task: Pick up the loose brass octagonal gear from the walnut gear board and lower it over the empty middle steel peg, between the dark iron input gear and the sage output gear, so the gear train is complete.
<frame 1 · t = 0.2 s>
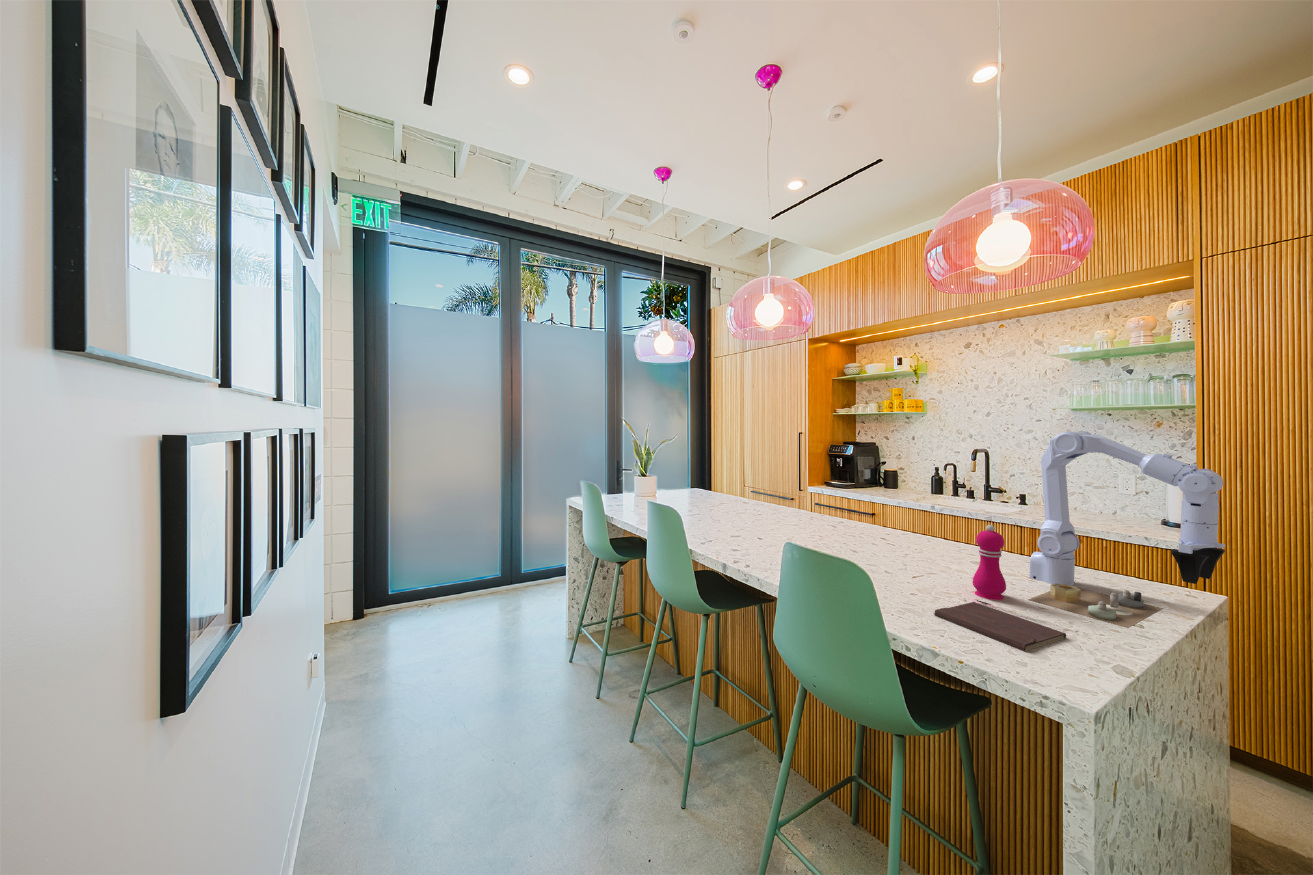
hand: (1196, 580, 111), 10 cm above the countertop, tool pointing down, fingers open, 7 cm apart
gear board: (1093, 609, 119), on the countertop
notebook: (996, 629, 110), on the countertop
pepper mill: (988, 601, 125), on the countertop
brass idler gear: (1065, 598, 123), point 1 cm above the countertop, touching gear board
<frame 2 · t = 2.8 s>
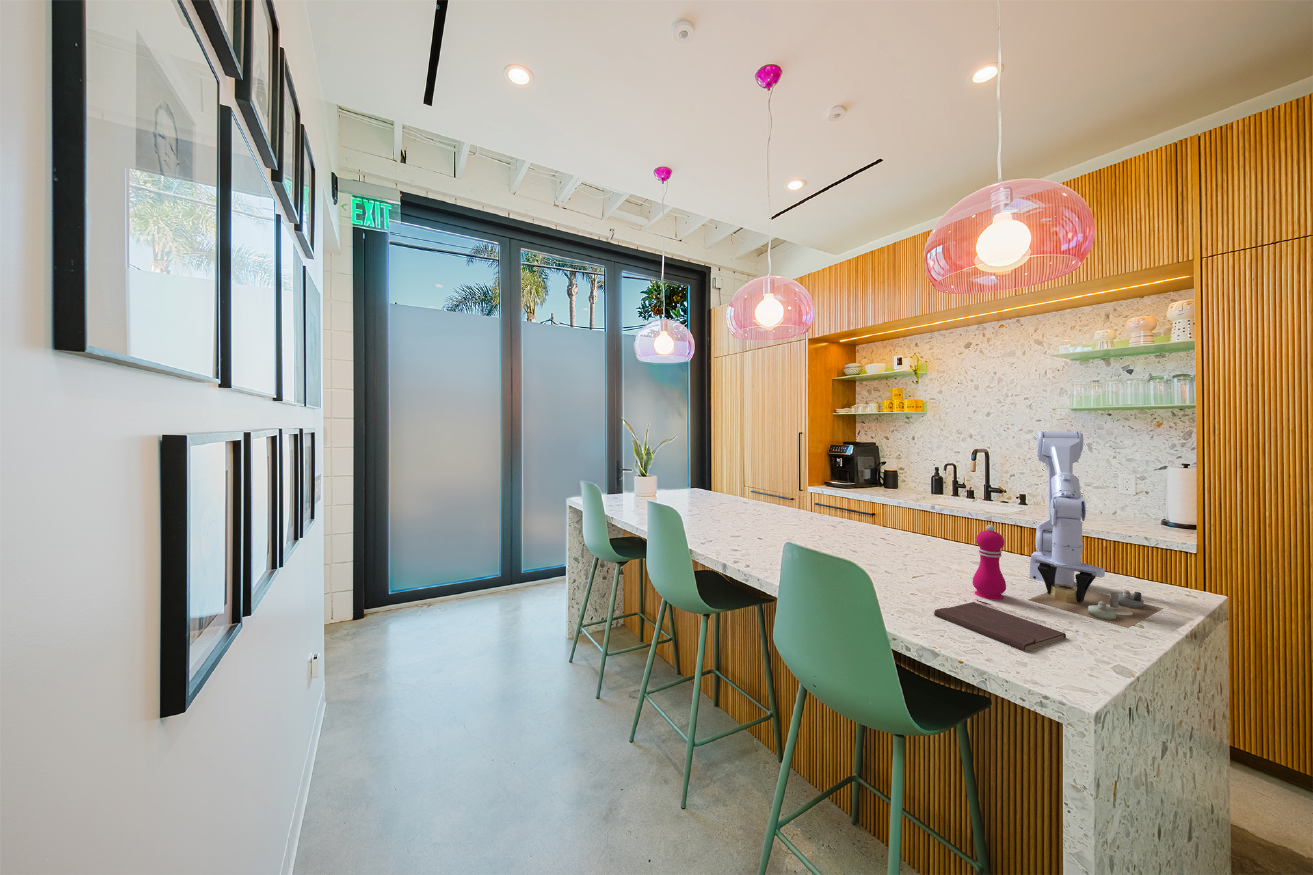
hand: (1065, 597, 123), 2 cm above the countertop, tool pointing down, fingers closed on brass idler gear, 5 cm apart
brass idler gear: (1065, 598, 123), point 2 cm above the countertop, touching gear board, gripper
everything else where it was.
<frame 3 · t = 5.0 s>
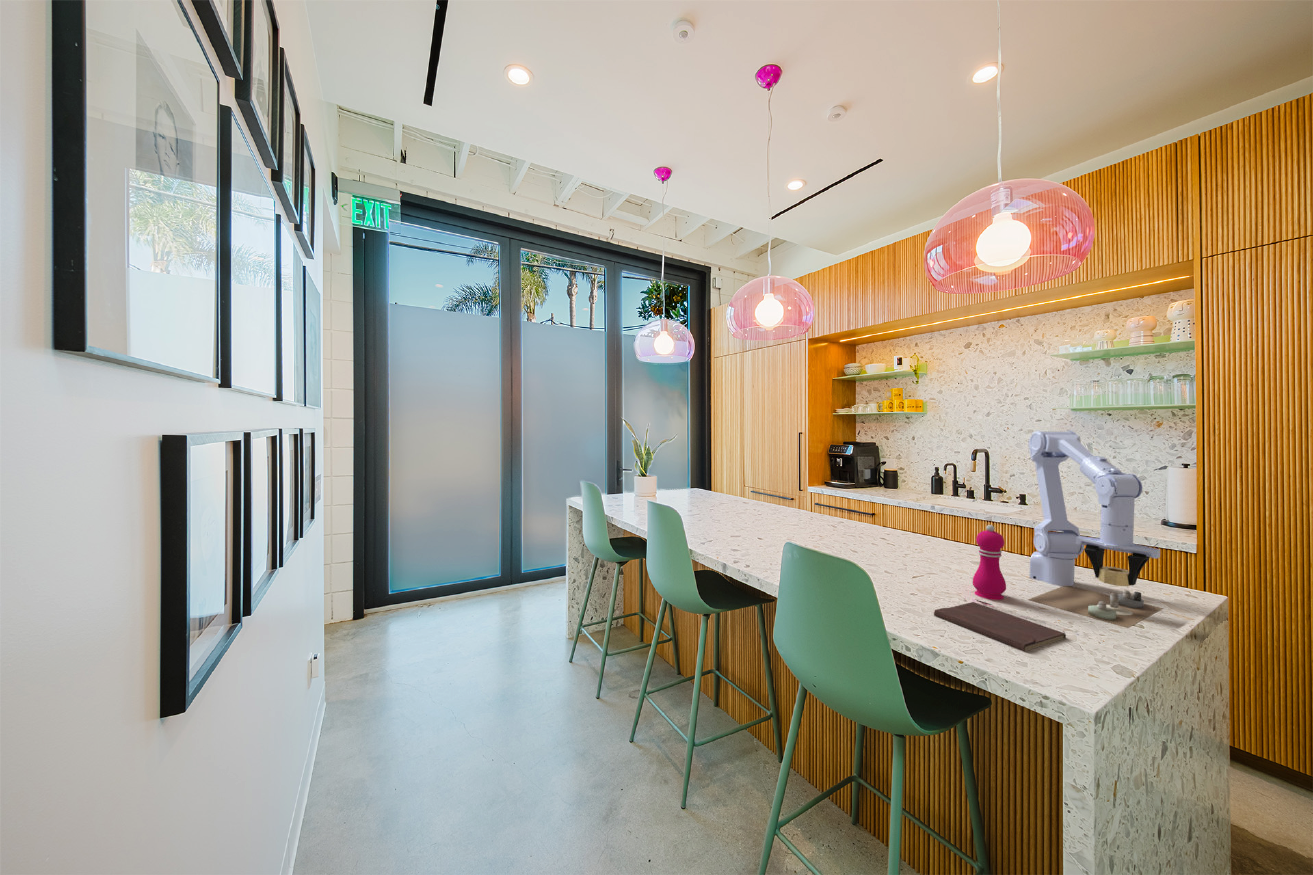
hand: (1115, 580, 115), 9 cm above the countertop, tool pointing down, fingers closed on brass idler gear, 5 cm apart
brass idler gear: (1114, 582, 115), point 8 cm above the countertop, touching gripper
everything else where it was.
when the fingers open (3 cm above the countertop, at t = 7.2 s): brass idler gear stays where it is, resting on gear board.
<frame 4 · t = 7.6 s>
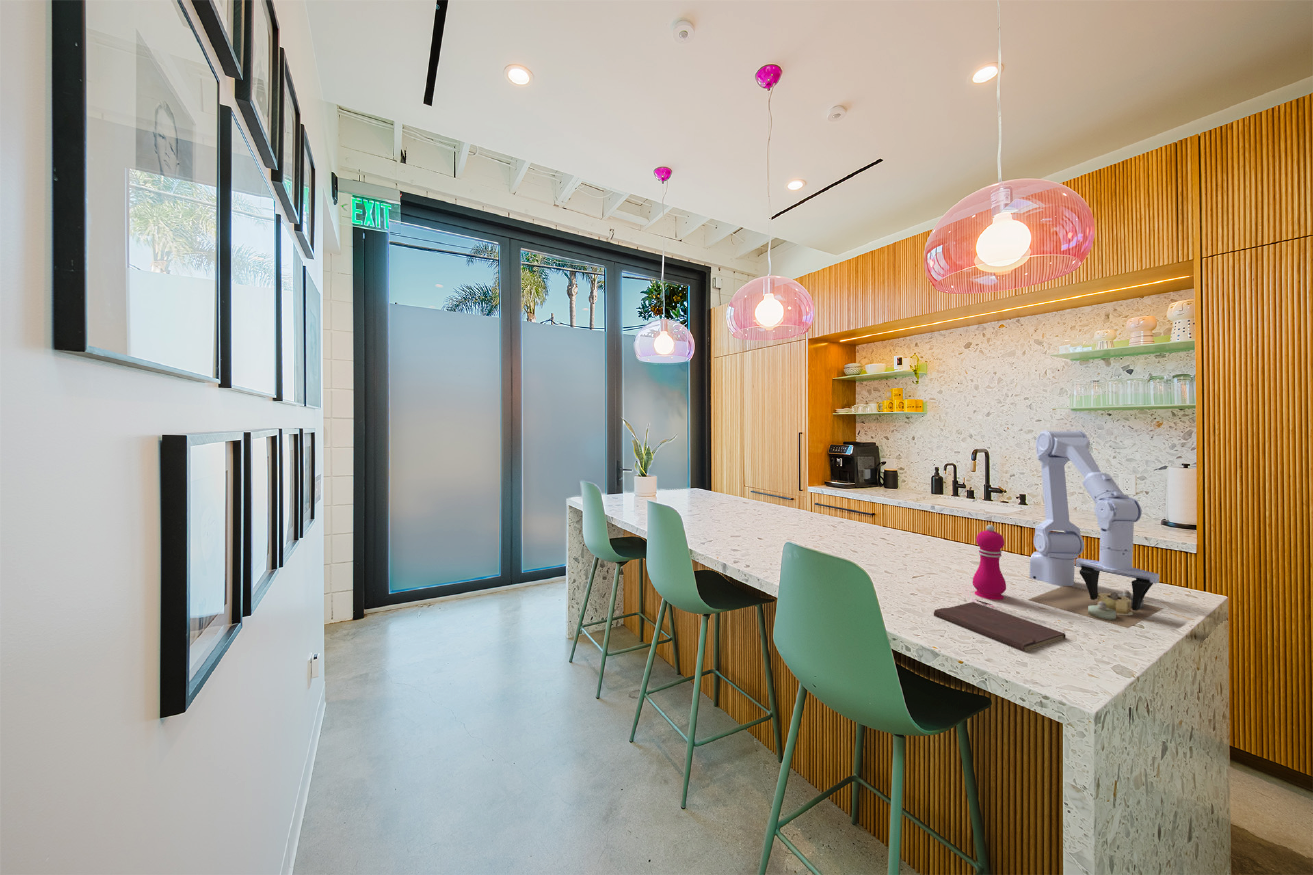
hand: (1114, 603, 115), 3 cm above the countertop, tool pointing down, fingers open, 7 cm apart
brass idler gear: (1113, 609, 115), point 2 cm above the countertop, touching gear board
everything else where it was.
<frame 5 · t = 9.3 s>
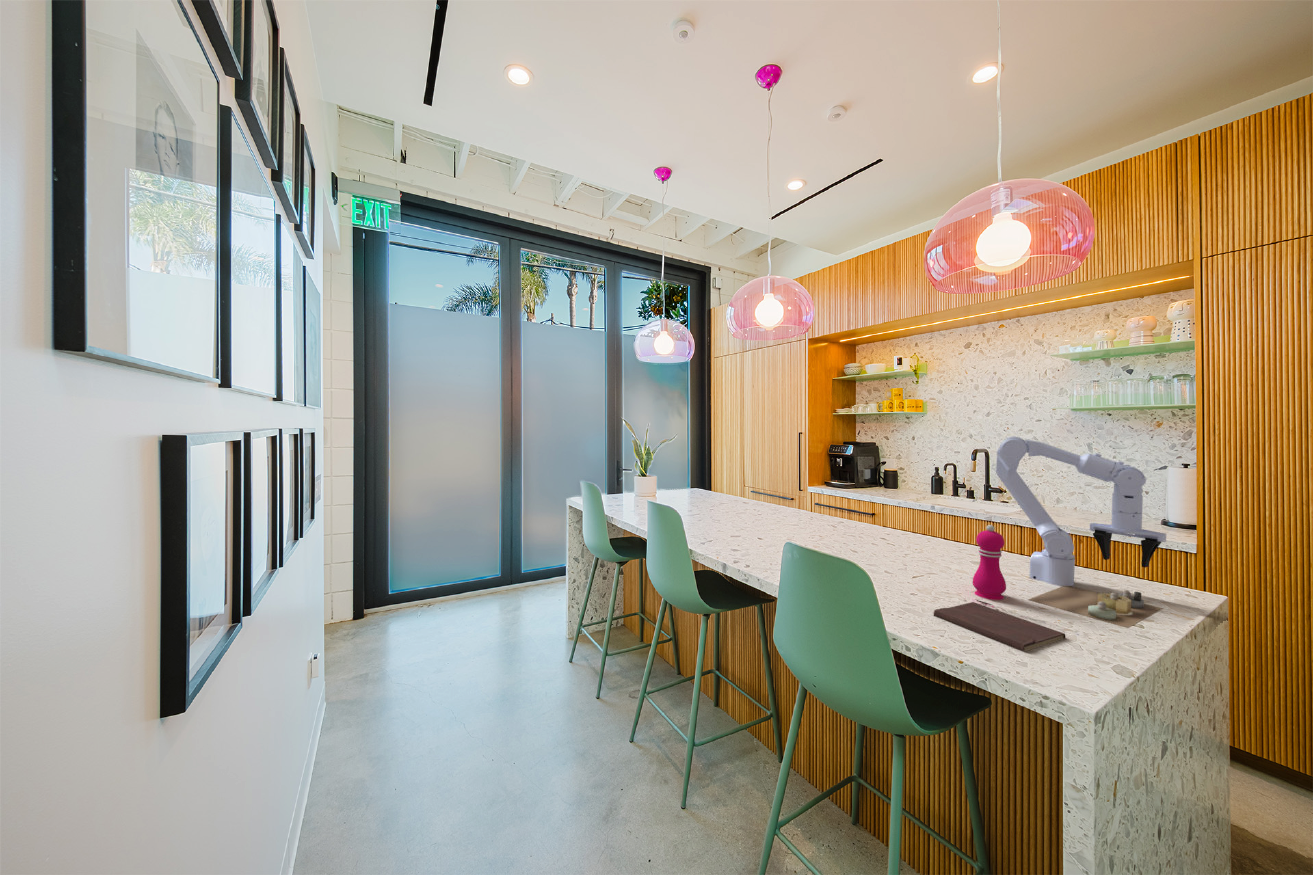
hand: (1125, 562, 127), 9 cm above the countertop, tool pointing down, fingers open, 7 cm apart
nothing on the countertop moved.
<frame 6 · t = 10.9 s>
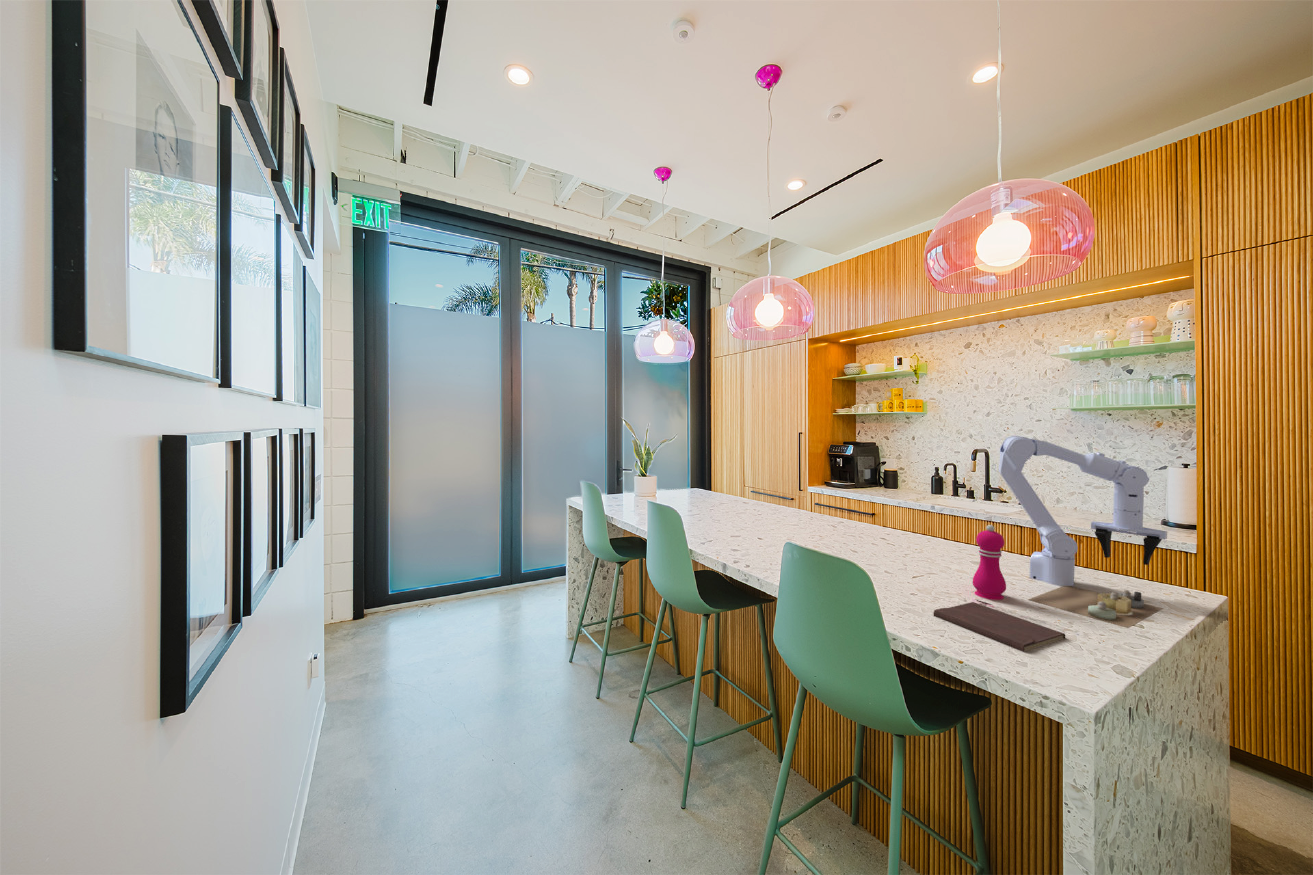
hand: (1126, 560, 129), 9 cm above the countertop, tool pointing down, fingers open, 7 cm apart
nothing on the countertop moved.
at the end: brass idler gear 0.1 cm from the target spot, point 1.6 cm above the countertop; brass idler gear tilted 0°; the gripper is holding nothing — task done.
